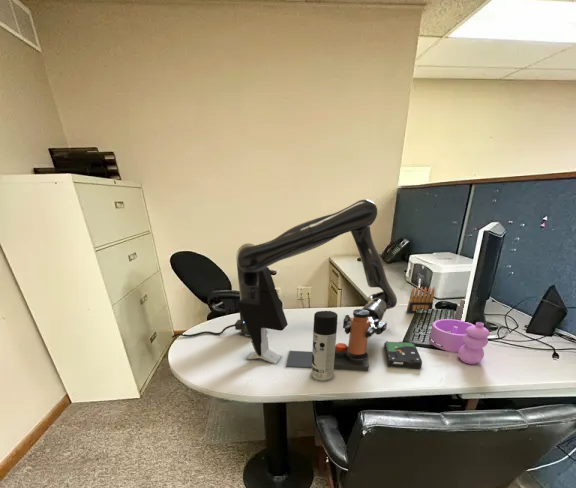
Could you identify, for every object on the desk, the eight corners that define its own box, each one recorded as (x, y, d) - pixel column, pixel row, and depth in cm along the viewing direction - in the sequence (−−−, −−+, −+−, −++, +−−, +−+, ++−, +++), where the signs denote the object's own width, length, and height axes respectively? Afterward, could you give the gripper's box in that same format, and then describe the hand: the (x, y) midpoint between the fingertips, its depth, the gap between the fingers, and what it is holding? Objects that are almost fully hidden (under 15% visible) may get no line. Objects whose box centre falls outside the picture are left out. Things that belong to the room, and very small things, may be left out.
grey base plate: (323, 369, 104) (323, 359, 102) (324, 353, 114) (324, 344, 112) (368, 371, 103) (369, 361, 101) (364, 355, 112) (366, 345, 111)
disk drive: (421, 369, 103) (412, 348, 116) (423, 362, 102) (414, 341, 115) (388, 367, 105) (383, 347, 117) (389, 360, 103) (384, 340, 116)
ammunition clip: (429, 311, 149) (435, 285, 143) (431, 313, 148) (437, 287, 142) (406, 311, 149) (411, 285, 143) (407, 313, 148) (412, 287, 142)
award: (288, 357, 111) (287, 268, 96) (283, 365, 107) (281, 272, 92) (247, 351, 115) (241, 264, 100) (241, 358, 111) (233, 268, 96)
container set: (423, 334, 127) (430, 301, 120) (462, 334, 127) (472, 301, 120) (450, 366, 105) (460, 328, 99) (498, 366, 105) (511, 328, 98)
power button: (335, 352, 107) (335, 347, 107) (335, 347, 111) (335, 342, 110) (346, 352, 107) (347, 347, 106) (346, 347, 110) (346, 343, 109)
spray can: (310, 370, 103) (311, 310, 93) (331, 369, 104) (335, 309, 94) (313, 381, 97) (315, 318, 88) (335, 380, 98) (340, 317, 88)
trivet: (286, 367, 105) (286, 365, 105) (290, 351, 115) (290, 350, 115) (320, 368, 104) (320, 367, 104) (321, 353, 114) (321, 352, 113)
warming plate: (346, 359, 102) (346, 358, 102) (345, 350, 108) (346, 349, 108) (368, 360, 101) (368, 359, 101) (366, 351, 107) (366, 349, 107)
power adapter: (468, 323, 136) (476, 295, 131) (455, 322, 137) (462, 295, 131) (466, 320, 139) (474, 293, 133) (453, 320, 140) (460, 292, 134)
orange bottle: (348, 354, 102) (352, 314, 95) (347, 346, 107) (351, 308, 100) (366, 355, 101) (371, 315, 95) (365, 347, 106) (369, 309, 100)
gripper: (351, 301, 112) (335, 317, 99) (394, 307, 107) (382, 325, 94) (349, 321, 116) (333, 339, 103) (390, 328, 111) (379, 348, 97)
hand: (357, 332), depth 98 cm, fingers closed on orange bottle, 5 cm apart
